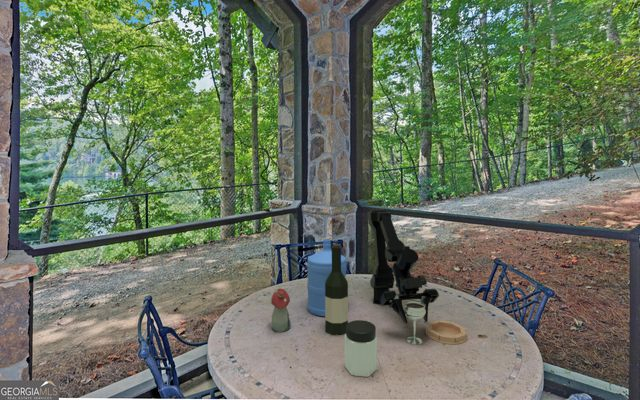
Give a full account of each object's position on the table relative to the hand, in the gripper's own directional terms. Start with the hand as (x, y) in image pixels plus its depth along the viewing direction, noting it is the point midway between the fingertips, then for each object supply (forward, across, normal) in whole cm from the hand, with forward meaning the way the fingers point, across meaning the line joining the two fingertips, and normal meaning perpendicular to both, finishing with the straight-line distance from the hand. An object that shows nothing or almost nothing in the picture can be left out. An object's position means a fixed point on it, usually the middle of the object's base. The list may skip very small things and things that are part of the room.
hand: (416, 322), depth 104 cm
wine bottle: (-4, -24, +14) cm, 28 cm away
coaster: (+2, +12, +7) cm, 14 cm away
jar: (+12, -21, -3) cm, 25 cm away
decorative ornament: (-7, -42, +17) cm, 46 cm away
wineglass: (+4, 0, +6) cm, 7 cm away
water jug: (-17, -24, +26) cm, 39 cm away
